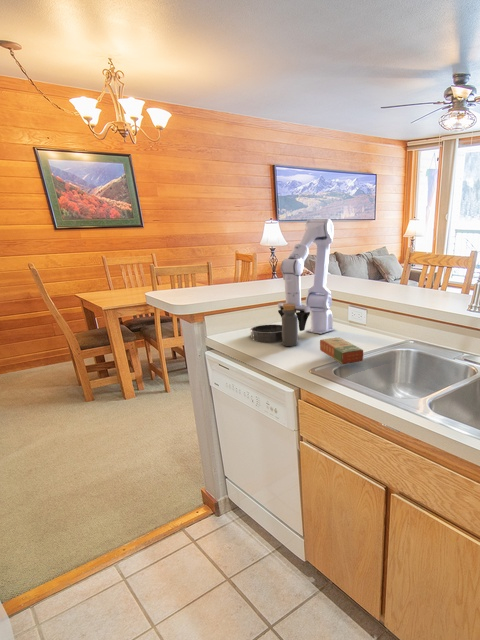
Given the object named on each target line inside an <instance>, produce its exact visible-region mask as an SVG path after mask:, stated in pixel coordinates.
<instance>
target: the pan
mask: <svg viewBox="0 0 480 640" xmlns="http://www.w3.org/2000/svg"><path fill="white" fill-rule="evenodd" d="M250 338H251V340H253V341H255V342H258V343H266V344H267V343H269V344H270V343H272V344H273V343H281V342H283V340H282V324H260V325H256V326H253V327H251V328H250Z"/></svg>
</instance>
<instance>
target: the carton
mask: <svg viewBox="0 0 480 640" xmlns="http://www.w3.org/2000/svg"><path fill="white" fill-rule="evenodd" d="M319 351H320V352H322V353H323V354H325V355H327V356H329V357H330V358H332V359H333V360H334V361H336V362H338V363H339V364H341V365H346V364H352V363H353V364H354V363H359V362H363V360H364V349H362V348H361V347H358V346H357V345H354V344H353V343H351V342H349V341H347V340H345V339H343V338H341V336H340V337H330V338H323V339H320V340H319Z"/></svg>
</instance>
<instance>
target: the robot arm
mask: <svg viewBox="0 0 480 640" xmlns="http://www.w3.org/2000/svg"><path fill="white" fill-rule="evenodd" d="M334 229H335V227H334V224H333V222H332V220H331V219H330V218H325V219H324V218H322V219H317V218H316V219H315V218H314V219H311V218H309V219H307V220H306V222H305V224H304V234H303V236H302V237H301V240H300V242H299V243H296V244H295V245H294V247H293V248H292V250H291V252H290V254H289V255H288V257H287V258H284V260H282V262H281V264H280V273H281V274H282V279H283V281H284V291H285V292H284V293H285V294H284V295H285V296H284V297H285V302H278V303H277V308H278V310H277V312H278V314H279V315H280V317H281V318H282V316H283V315H284V313H283V311H282V310H283V309H284V308H283V304H290V305H296V306H295V309H296V313H295V315H296V316H297V321H298V331H300V332H302V331H305V329H306V325H307V321H308V318H309V317H310V328H309V329H306V332H309V333H314V334H320V335H321V334H325V333H328V332H332V331H335V328H334V323H333V321H334V320H333V319H334V316H333V313H332V311H331V310H330V309H331V307H332V305H333V299H332V291H331V290H330V289H329V288H328V287H327V279H328V270H329V259H330V248H331V244H332V243H333V241H334V240H333V239H334V231H335V230H334ZM313 243H314V244H315V245H316V253H315V254H316V256H315V265H314V274H313V275H314V277H313V278H314V279H313V285H312V286H311V287H310V288H309V289H308V290H307V294H306V297H305V304H302V291H301V290H302V288H301V287H302V286H301V275H302V274H303V273H304V266H305V261H306V259H307V258H308V256H309V254H310V251H309V248H310V247H311V245H312V244H313Z"/></svg>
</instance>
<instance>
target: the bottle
mask: <svg viewBox="0 0 480 640" xmlns="http://www.w3.org/2000/svg"><path fill="white" fill-rule="evenodd" d="M295 306H296V305H290V304H283V308H284V309H283V310H282V311H283V313H284V315H283V316H282V317H281V325H282V340H283V341H282V345H283V346H285V347H294V346H295V347H296V346H297V345H298V344H299V322H298V318H297V315H296V313H297V311H296V309H295Z"/></svg>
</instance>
